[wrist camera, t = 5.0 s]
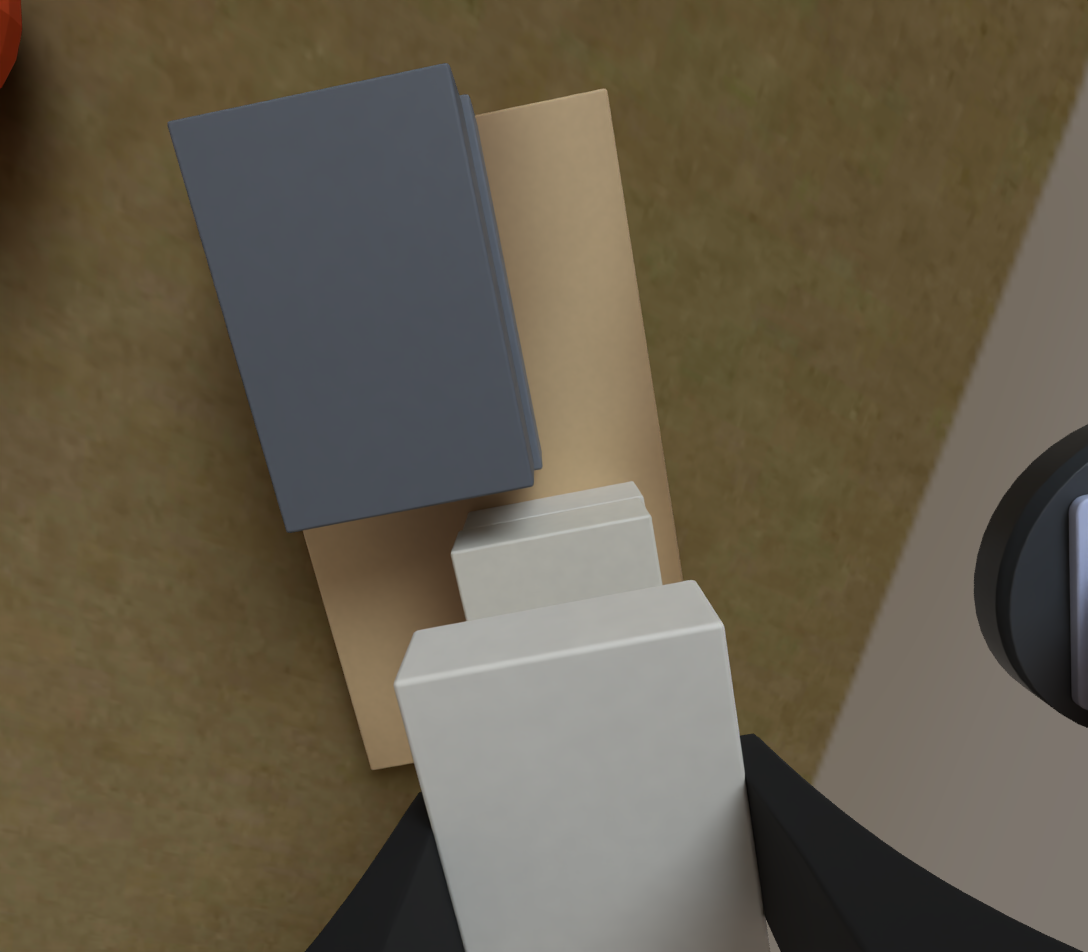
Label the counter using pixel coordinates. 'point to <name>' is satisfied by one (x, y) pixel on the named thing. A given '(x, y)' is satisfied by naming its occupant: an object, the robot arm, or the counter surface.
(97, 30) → the counter surface
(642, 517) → the white books
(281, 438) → the grey books
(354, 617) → the shelf board
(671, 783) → the white book
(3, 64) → the clementine
